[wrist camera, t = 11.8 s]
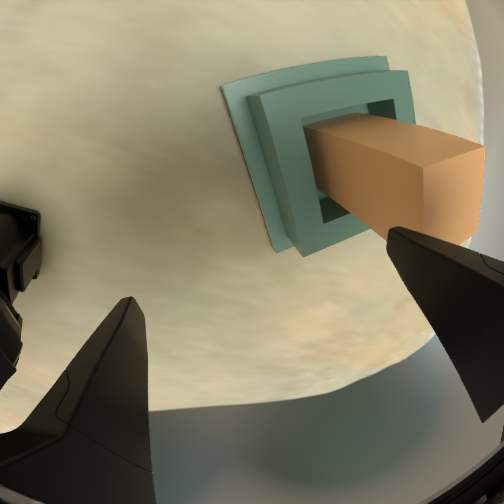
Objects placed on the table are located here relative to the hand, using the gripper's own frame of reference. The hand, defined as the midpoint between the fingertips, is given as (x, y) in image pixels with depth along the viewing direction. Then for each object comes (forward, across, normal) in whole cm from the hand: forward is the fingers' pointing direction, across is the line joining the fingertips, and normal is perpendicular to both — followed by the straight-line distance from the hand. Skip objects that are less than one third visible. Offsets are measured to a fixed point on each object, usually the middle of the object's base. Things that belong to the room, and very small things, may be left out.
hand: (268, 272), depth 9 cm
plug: (+13, -9, 0) cm, 16 cm away
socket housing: (+14, -9, 0) cm, 16 cm away
